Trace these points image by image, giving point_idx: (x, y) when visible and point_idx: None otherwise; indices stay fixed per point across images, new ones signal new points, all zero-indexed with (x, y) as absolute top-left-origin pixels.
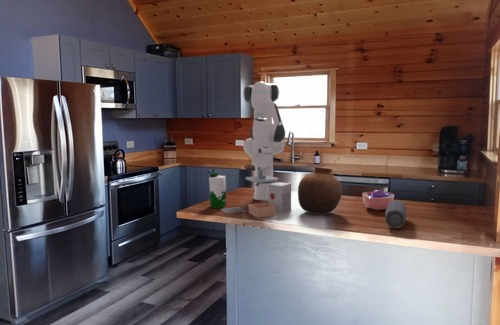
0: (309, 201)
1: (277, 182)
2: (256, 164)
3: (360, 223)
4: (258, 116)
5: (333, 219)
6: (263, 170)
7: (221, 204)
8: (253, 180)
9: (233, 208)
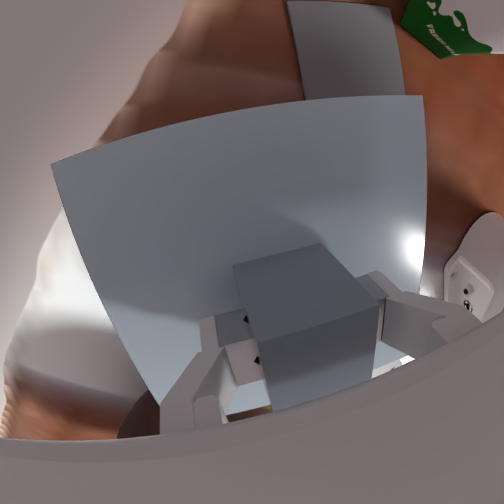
0: (131, 415)
1: (396, 363)
2: (480, 356)
3: (82, 439)
4: None
5: (117, 411)
6: (174, 400)
7: (413, 17)
8: (109, 143)
9: (384, 66)
